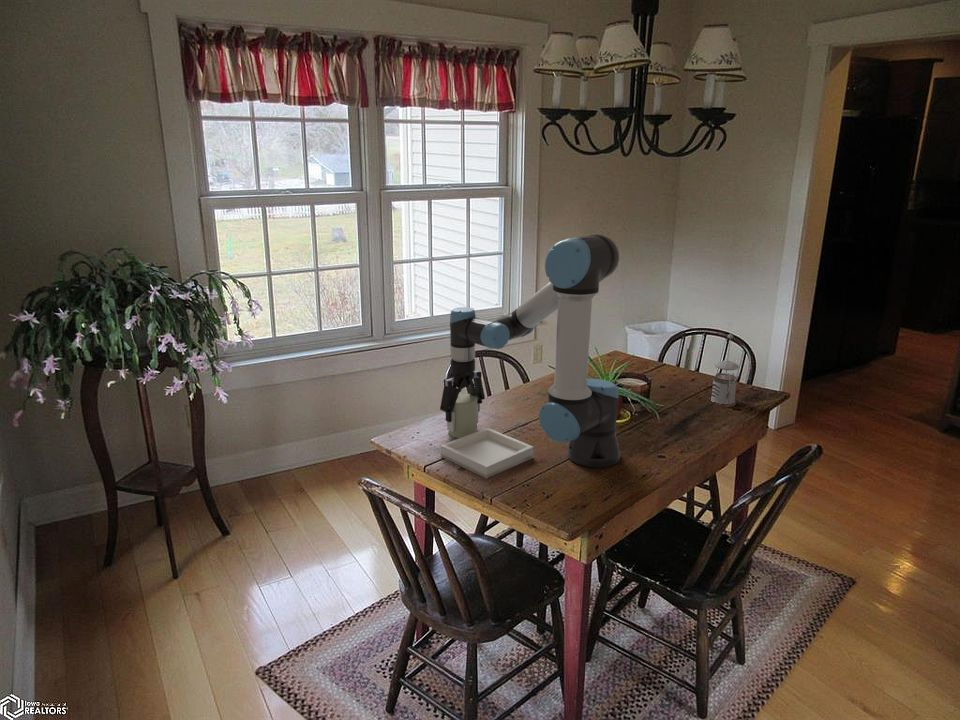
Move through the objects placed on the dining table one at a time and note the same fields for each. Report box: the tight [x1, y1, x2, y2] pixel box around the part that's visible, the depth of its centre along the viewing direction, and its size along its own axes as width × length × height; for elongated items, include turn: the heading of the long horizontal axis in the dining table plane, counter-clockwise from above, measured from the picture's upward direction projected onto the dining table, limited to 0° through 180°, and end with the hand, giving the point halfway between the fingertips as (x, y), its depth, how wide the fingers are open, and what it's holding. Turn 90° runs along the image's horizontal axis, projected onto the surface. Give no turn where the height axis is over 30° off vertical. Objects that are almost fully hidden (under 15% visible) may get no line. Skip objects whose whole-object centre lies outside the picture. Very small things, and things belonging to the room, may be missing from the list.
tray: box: [440, 427, 534, 480], centre depth 199 cm, size 19×19×4 cm
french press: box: [710, 334, 740, 404], centre depth 238 cm, size 10×12×25 cm
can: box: [447, 392, 479, 439], centre depth 215 cm, size 9×9×12 cm
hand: (463, 426), depth 216 cm, fingers open, 9 cm apart
